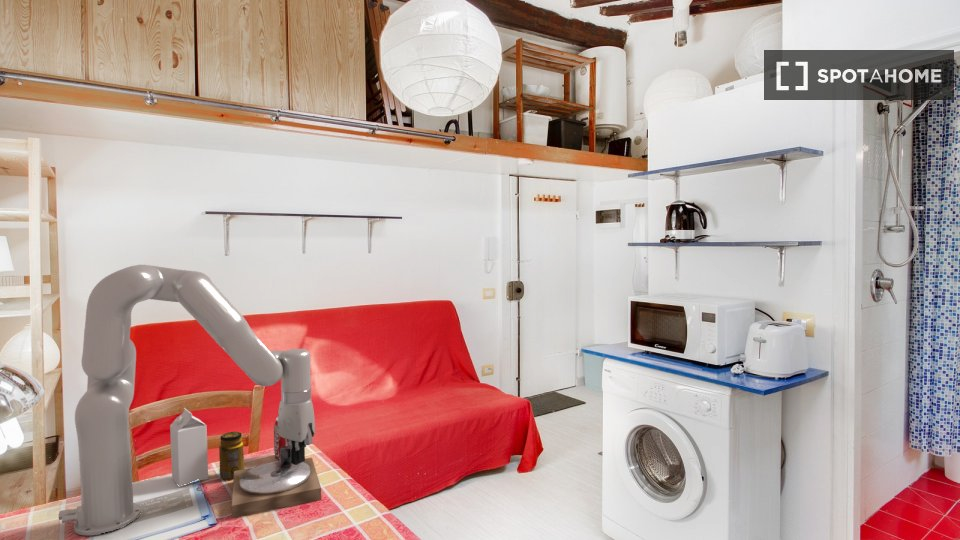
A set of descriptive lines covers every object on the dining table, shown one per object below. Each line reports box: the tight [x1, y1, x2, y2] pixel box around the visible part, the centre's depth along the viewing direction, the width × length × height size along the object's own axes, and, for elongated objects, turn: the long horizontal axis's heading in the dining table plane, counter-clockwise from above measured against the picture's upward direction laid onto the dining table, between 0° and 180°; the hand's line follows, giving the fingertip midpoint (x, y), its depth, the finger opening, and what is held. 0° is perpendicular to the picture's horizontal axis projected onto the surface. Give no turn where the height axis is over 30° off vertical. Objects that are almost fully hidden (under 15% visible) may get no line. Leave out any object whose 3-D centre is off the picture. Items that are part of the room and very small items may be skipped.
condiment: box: [218, 431, 245, 481], centre depth 139 cm, size 7×8×12 cm
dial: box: [240, 446, 310, 495], centre depth 131 cm, size 17×17×5 cm
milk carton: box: [169, 407, 209, 486], centre depth 137 cm, size 7×7×19 cm
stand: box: [231, 457, 322, 519], centre depth 131 cm, size 20×20×4 cm
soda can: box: [273, 416, 289, 461], centre depth 151 cm, size 7×7×12 cm
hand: (298, 462), depth 136 cm, fingers closed
